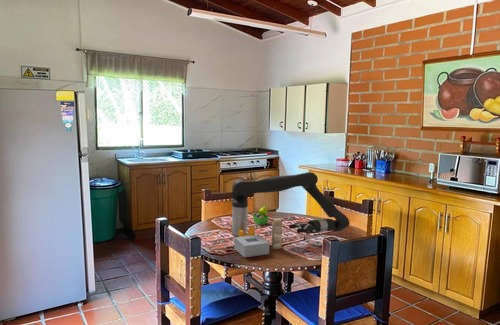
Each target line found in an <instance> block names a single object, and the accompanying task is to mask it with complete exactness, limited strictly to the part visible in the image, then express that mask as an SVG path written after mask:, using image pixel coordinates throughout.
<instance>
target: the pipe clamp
mask: <svg viewBox="0 0 500 325" xmlns="http://www.w3.org/2000/svg"><path fill="white" fill-rule="evenodd" d="M255 230H256V227H255V226H253V225H251V226H249V227H248V230H247V234H246V235H245V234H244V231H242V230H239V232H238V236H237V237H243V236H251V235H256V234H255V233H256V231H255Z"/></svg>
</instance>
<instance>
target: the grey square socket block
mask: <svg viewBox="0 0 500 325" xmlns="http://www.w3.org/2000/svg"><path fill="white" fill-rule="evenodd" d="M233 248H235V251H236V252H238V254H240V255H241V256H242V257H243V258H249V257H251V258H252V257H256V256H257V257H258V256H263V255H269V254H270V242H269V241H268V240H266V239H265V238H264V237H262V236H261V235H259V234H255V235H251V236H243V237H238V236H235V237H234V241H233Z"/></svg>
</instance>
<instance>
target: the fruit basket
mask: <svg viewBox="0 0 500 325" xmlns="http://www.w3.org/2000/svg"><path fill="white" fill-rule="evenodd" d="M267 214H268V207H267V206H266V205H264V206H262V207H261V208H260V209H259V210H258V212H257V213H252V219H253V222H254V223H256V224H257V225H260V226H261V225H262V226H263V225H267V222H268V220H269V216H268V215H267Z"/></svg>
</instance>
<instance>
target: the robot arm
mask: <svg viewBox="0 0 500 325" xmlns="http://www.w3.org/2000/svg"><path fill="white" fill-rule="evenodd" d="M318 180H319V178H318V176H317V174H316V173H314V172H310V171H307V172H303V173H299V174H298V173H297V174H292V175H277V176H275V175H274V176H269V177H265V178H261V179H259V180H251V181H250V180H249V181H247V180H244V179H243V178H238V179H236V180H234V181H233V183H232V185H231V186H232V188H231V192H232V194H231V195H232V196H231V197H232V198H231V199H232V200H231V202H232V210H231V211H232V212H231V214H232V215H231V216H232V217H231V222H232V223H231V234H232V235H233V236H235V237H238V232H239V230H242V231H244V234H245V235H246V234H247V233H248V215H249V214H248V210H249V209H248V208H249V207H248V206H249V205H248V204H249V200H248V195H255V194H263V193H264V194H265V193H274V192H275V193H276V192H284V191H288V190H289V189H293V188H296V187H301V188H302V189H304V190H305V191H306V192H307V193H308V195H310V196H311V198H313V199H314V200H315V201H316V203H317V204H318V205H319V206H320V208H321V209H322V210H323V211H324V213H325V214H326V215H327V217H328V218H325V219H323V218H322V219H321V218H318V219H311V220H308V222H304V221H298V222H294V223H292V224H289V225H288V228H289V229H290V230H291V229H292V230H293V229H296V233H297V234H306V235H309V234H320V233H325V232H341V231H343V230H345V229H346V228H348V227H349V226H350V219H349V218H348V217H347V215H345V214H344V213H343V212H342V211H340V209H338V207H336V206H335V204H334V202H332V200H331V199H330V198H328V197H327V196H326V195H325V194H324V193H322V191H321V190H320V189H319V188H318V186H317V184H318ZM333 218H334V219H333Z"/></svg>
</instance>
